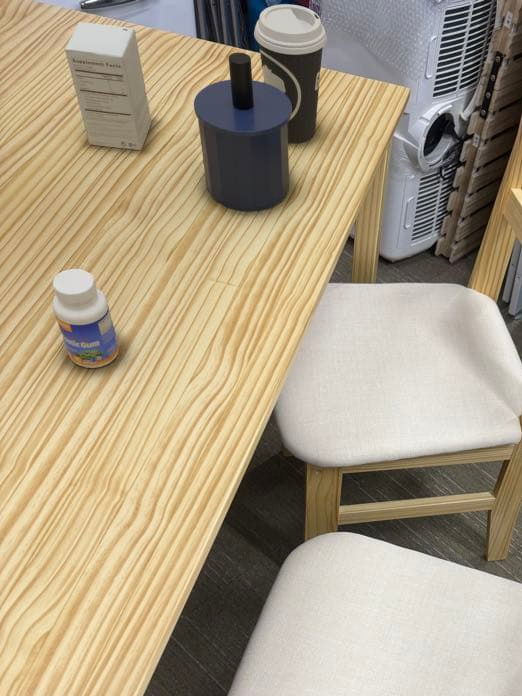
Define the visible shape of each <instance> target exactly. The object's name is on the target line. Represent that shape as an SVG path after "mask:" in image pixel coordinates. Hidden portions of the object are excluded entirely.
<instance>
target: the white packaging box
mask: <svg viewBox="0 0 522 696" xmlns="http://www.w3.org/2000/svg"><path fill="white" fill-rule="evenodd" d="M64 51H65V55H66V59H67V63H68V68H69V71H70V74H71V78H72V83H73V86H74V87H73V88H74V90H75V94H76V99H77V102H78V106H79V110H80V114H81V118H82V121H83V126H84V129H85V133H86V136H87V137H86V138H87V140H88V141H87V142H88V143H89V145H91V146H99V147H108V148H115V149H116V148H117V149H126V150H136V151H141V150H143V147H144V144H145V141H146V138H147V136H148V133H149V130H150V128H151V125H152V121H153V120H152V116H151V111H150V104H149V100H148V99H149V98H148V94H147V89H146V83H145V79H144V78H145V77H144V73H143V68H142V61H141V57H140V51H139V45H138V39H137V35H136V30H135V28H132V27H126V26H118V25H110V24H102V23H94V22H83V21H80V22H78V23H77V25H76V27H75V29H74V31H73V33H72V35H71V37H70V39H69V41H68V42H67V44H66V47H64Z"/></svg>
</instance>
